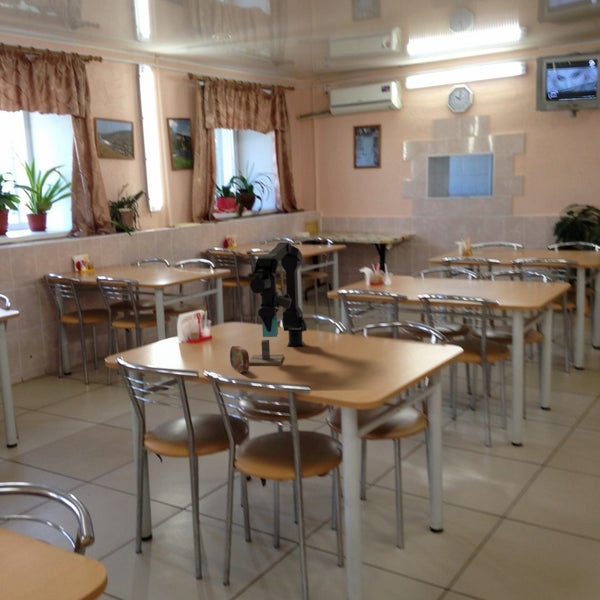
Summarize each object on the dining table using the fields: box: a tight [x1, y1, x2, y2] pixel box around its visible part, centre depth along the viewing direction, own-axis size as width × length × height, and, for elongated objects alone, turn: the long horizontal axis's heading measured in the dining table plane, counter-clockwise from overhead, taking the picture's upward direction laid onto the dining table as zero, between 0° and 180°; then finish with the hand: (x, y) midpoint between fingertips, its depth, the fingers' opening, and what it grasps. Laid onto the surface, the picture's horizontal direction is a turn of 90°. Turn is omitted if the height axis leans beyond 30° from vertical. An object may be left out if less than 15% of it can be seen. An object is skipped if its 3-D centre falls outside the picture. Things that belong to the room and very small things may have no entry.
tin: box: [229, 345, 250, 374], centre depth 254 cm, size 15×3×8 cm, turn 23°
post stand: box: [249, 339, 285, 366], centre depth 265 cm, size 12×12×8 cm
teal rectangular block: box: [261, 316, 279, 338], centre depth 263 cm, size 5×5×7 cm
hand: (270, 330), depth 263 cm, fingers closed on teal rectangular block, 5 cm apart
